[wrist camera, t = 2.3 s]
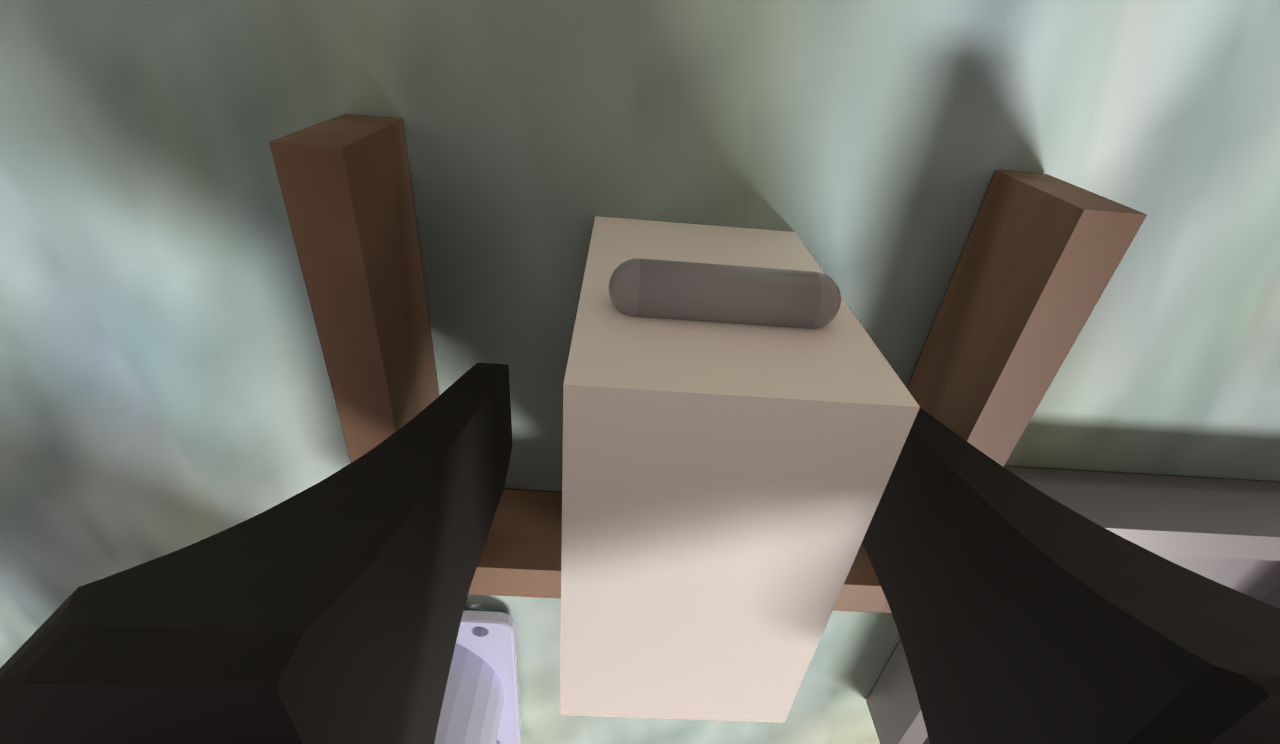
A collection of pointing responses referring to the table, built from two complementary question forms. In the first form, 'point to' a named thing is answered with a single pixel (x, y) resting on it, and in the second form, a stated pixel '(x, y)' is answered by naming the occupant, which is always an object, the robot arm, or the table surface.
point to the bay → (532, 520)
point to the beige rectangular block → (712, 469)
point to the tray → (1150, 517)
